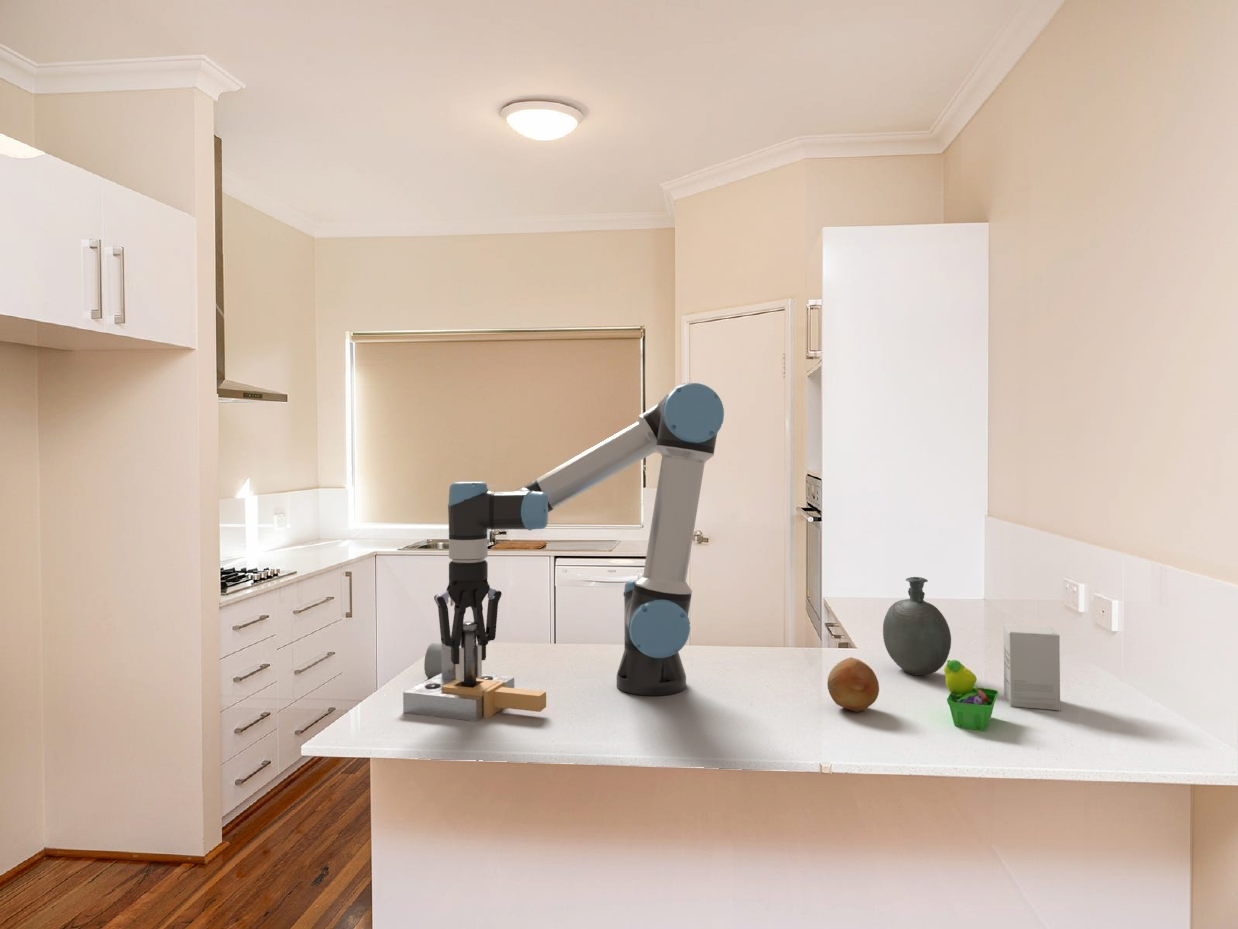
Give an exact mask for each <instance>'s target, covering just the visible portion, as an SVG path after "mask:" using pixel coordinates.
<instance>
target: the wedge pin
mask: <svg viewBox="0 0 1238 929" xmlns="http://www.w3.org/2000/svg"><path fill="white" fill-rule="evenodd" d="M476 630H478V623H476V622H475V621H474V620H466V621H463V628H462V635H461V647H463V648H464V681H463V682H461V687H471V688H474V687H475V686H476V643H477V637H476Z"/></svg>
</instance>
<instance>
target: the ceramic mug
mask: <svg viewBox="0 0 1238 929" xmlns="http://www.w3.org/2000/svg"><path fill="white" fill-rule="evenodd" d="M423 664H424V666H423V669H424V675H425V677H426V678H428V679H431V678H433V677H435V676H437V675H439V674H441V673H442V643H438V642H431V643H430V644H429V645H428V647H427V649H426V653H425V656H424V663H423Z"/></svg>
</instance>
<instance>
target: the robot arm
mask: <svg viewBox="0 0 1238 929" xmlns="http://www.w3.org/2000/svg"><path fill="white" fill-rule="evenodd" d="M724 417H725V409H724V404H723V402H722V400H721V398H720V397H719V395H718V393H717V392H716V391H715V390H714V389H713V388H711V387H709V386H707V385H705V384H704V383H703V384H702V383H699V382H687V383H682V384H679V385H676V386H675V387H673V388H672V389H671V390H670V391H669V392H668V393H667V394H666V395H665V396H664V397H663V398H662V399H661V400H660V401H659V402H658V403H656V404H655V405H654V406H652V407H651V408H650V409H648V410H646V411H645V412H643V413H642V414H640V415H638V418H637V421H636V422H635V423H633V424H631V425H629V426H628V427H626V428H624V429H622V430H620V431H618V432H617V433H615V434H614V435H612V436H610V437H608V438H607V439H605V440H603V441H602V442H600V443H598V444H596V445H594V446H593V447H591V448H589V449H587V450H585V451H583V452H582V453H580V454H579V455H576V456H575V457H573V458H571V459H569V460H568V461H566V462H563V463H562V464H561V465H559V466H557V467H555V468H554V469H552V470H550V471H548V472H546V473H544V474H543V475H541V476H540V477H537V478H535V480H531V482H529V483H527V484H525V485H524V486H522V487H520V488H517V489H516V490H514V491H489V488H488V484H487V482H485V481H454V482H453V483H451V484H450V485H449V488H448V489H449V491H448V492H449V493H448V504H447V508H448V509H447V510H448V514H447V515H448V558H449V560H450V561H449V562H448V585H447V587H446V591H444V592H443V593H440V594H435V595H434V597H433V599H434V600H433V601H434V602H435V604H436V605H437V610H438V611H437V612H438V621H439V622H438V623H439V631H440V642H441V644H442V643H443V644H444V645H446V646H450V647H451V662H452V663H453V664H456V679H457V680H458V681H460V682H463V681H464V648H463V647H461V646H460V642H461V635H462V628H463V622H465V621H464V619H465V614H466V612H467V611H466V610H467V608H471V610H472V615H473V616H472V617H473V621H475V622H476V623H478V630H476V678H477V679H482V674H483V672H482V671H483V670H482V667H483V666H482V665H483V664H482V662H483V661H486V660H487V659H486V658H487V645H489V642H490V641H494V640H495V639H496V634H497V623H498V622H497V620H498V609H499V602H500V599H501V597H502V595H503V594H502V591H500V590H498V589H493V588H491V586H490V584H489V582H488V577H489V576H488V573H489V572H488V567H489V566H488V561H487V560H486V559H487V558H488V556H489V555H488V530H527V531H532V530H543V529H545V528H547V526H548V521H549V513H550V512H552V511H554V510H555V509H556V508H558V507H560V506H562V505H564V504H566V503H567V502H569V501H571V500H573V499H575V498H576V497H578V496H580V495H582V494H583V493H585V492H587V491H588V490H590V489H592V488H594V487H596V486H597V485H600V484H601V483H603V482H605V481H606V480H607V481H608V479H611V478H612V477H614V476H615V475H618V474H619V473H621V472H623V471H625V470H626V469H628V468H629V467H632V466H633V465H636V463H638V462H640V461H642V460H643V459H646V458H647V457H650V456H651V455H653V454H655V453H656V454H660V455H661V461H660V469H659V474H658V479H657V480H658V481H657V487H656V493H655V498H654V504H653V506H654V507H653V513H652V518H651V522H650V523H651V525H650V530H649V531H650V532H649V536H648V537H649V538H648V544H647V549H646V555H645V562H644V569H643V574H642V575H641V576H639V577H638V578H637V579H634V580H628V581H626V582H625V584H624V591H623V592H622V594H623V597H624V600H623V602H624V604H623V605H624V607H623V608H624V610H623V611H624V623H623V624H624V630H623V631H624V635H623V636H624V638H623V639H624V649H623V650H624V651H623V653H622V657H621V660H620V664H619V666H618V669H617V673H616V687H617V688H618V689H619V690H621V691H622V692H626V693H628V694H632V695H637V696H638V695H639V696H666V695H672V694H673V695H674V694H676V693H679V692H682V691H683V690H685V689H686V687H687V675H686V672H685V669H684V668H685V667H684V665H683V662H682V659H681V655H680V653H679V652H680V651H681V650H682V649H683V648H684V647H685V645H686V644H687V641H688V640H689V638H690V632H691V626H690V624H691V623H690V618H689V614H690V607H691V600H692V593H693V590H692V589H691V587H690V586H689V584H688V583H687V575H688V571H689V570H688V569H689V564H690V558H691V552H692V551H691V550H692V546H693V539H694V532H695V527H696V520H697V515H698V514H697V513H698V507H699V502H700V495H701V488H702V482H703V475H704V469H705V464H706V462H707V461H709V460H710V459H711V458H713V457H714V454H715V449H716V442H717V438H718V437H717V436H718V432H720V429H721V428H722V425H723V423H724ZM486 596H487V598H488V601H487V610H486V612H487V613H486V624H485V619H484V613H483V610H484V608H483V601H484V599H485V598H486ZM449 598H450V599H451V600H452V602H453V603H454V607H453V611H454V613H453V619H452V620H453V621H452V627H450V615H449V608H448V603H449Z"/></svg>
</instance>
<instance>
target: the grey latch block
mask: <svg viewBox="0 0 1238 929" xmlns="http://www.w3.org/2000/svg"><path fill="white" fill-rule="evenodd" d="M441 644H442V673H441V674H439V675H437V676H435V677H433V678H428V679H427V680H424V681H423V682H421V683H419V684H417V685H415V686H413V687H411V688H409V689H407V690H405V691H403V694H402V696H403V697H402V700H403V701H402V704H403V705H402V706H403V708H402V709H403V710H402V712H403V714H404V713H405V714H412V715H421V716H429V717H437V718H446V719H453V720H463V721H471V722H477V721H480V719H483V718H485V717H484V696H476V695H466V694H457V693H448V692H442V686H444V685H446V684H448V683H450V682H451V681H453V680H455V679H456V664H453V663H452V662H451V647H450V646H446V645H444V644H443V643H442V642H441ZM460 646H461V642H460ZM476 679H477V678H476ZM482 679H485V680H495V681H505V687H507V688H515V676H506V675H497V674H496V675H495V674H485V673H482Z"/></svg>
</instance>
